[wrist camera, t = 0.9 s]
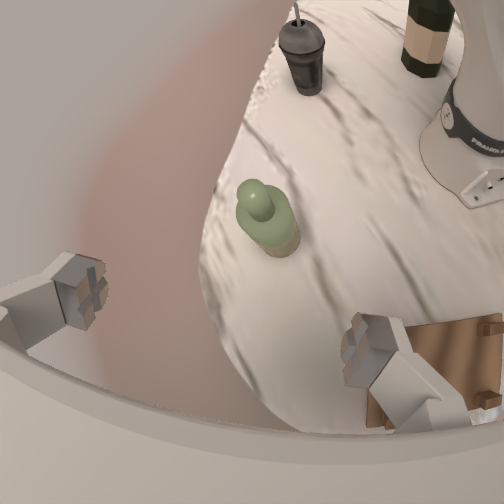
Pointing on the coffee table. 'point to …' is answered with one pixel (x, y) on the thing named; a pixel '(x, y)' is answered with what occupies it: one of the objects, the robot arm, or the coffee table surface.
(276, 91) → the coffee table surface
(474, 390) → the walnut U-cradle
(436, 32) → the wine bottle
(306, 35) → the beverage cup
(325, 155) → the coffee table surface
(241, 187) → the olive glass bottle
